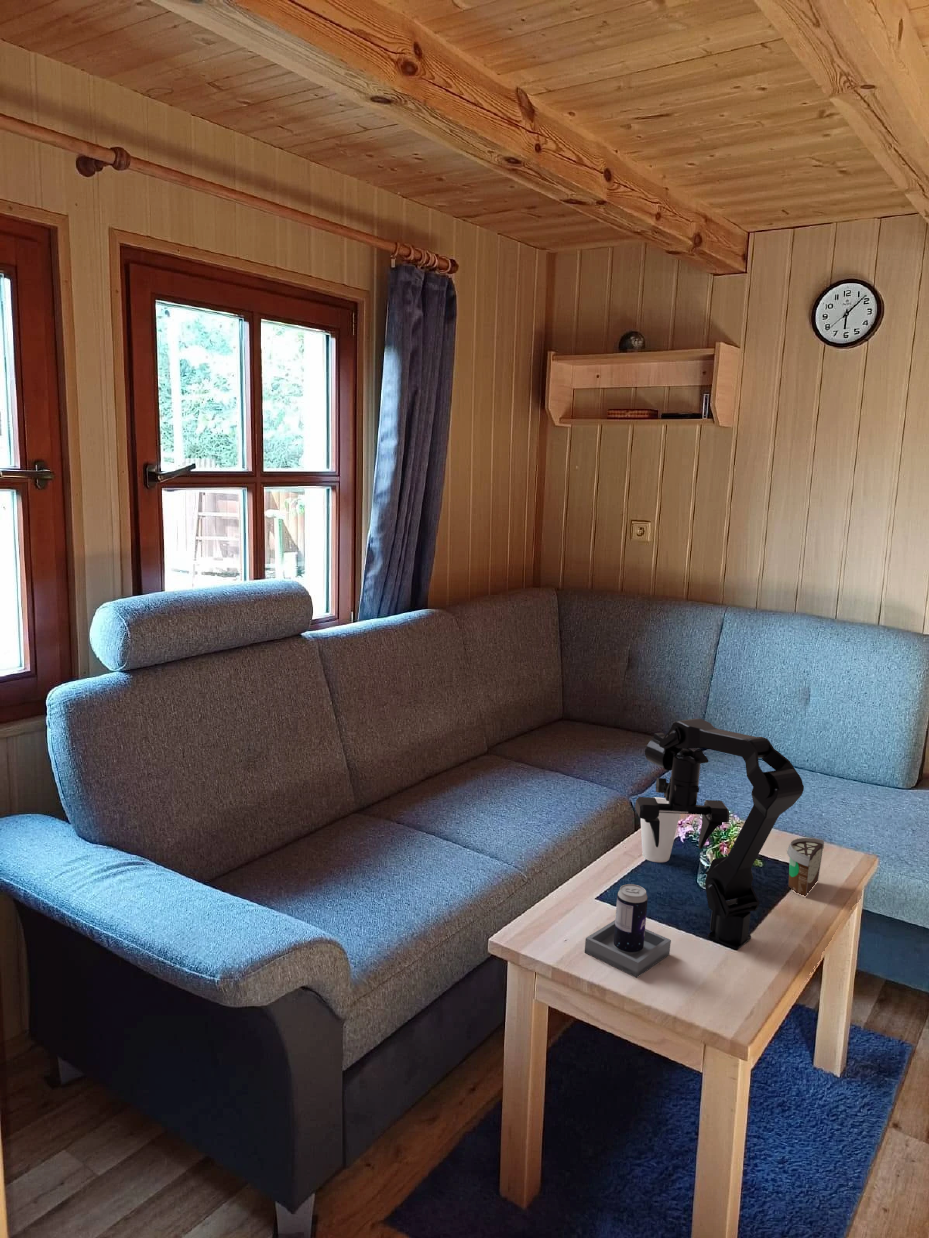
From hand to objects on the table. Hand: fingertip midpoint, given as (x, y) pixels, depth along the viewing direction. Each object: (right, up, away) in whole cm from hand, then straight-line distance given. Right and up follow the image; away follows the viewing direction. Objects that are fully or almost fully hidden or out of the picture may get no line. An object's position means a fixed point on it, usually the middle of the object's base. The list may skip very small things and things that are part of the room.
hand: (678, 847), depth 196 cm
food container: (+30, -12, +12) cm, 34 cm away
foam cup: (0, -8, +23) cm, 25 cm away
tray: (-14, -15, -20) cm, 29 cm away
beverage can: (-14, -15, -20) cm, 28 cm away
